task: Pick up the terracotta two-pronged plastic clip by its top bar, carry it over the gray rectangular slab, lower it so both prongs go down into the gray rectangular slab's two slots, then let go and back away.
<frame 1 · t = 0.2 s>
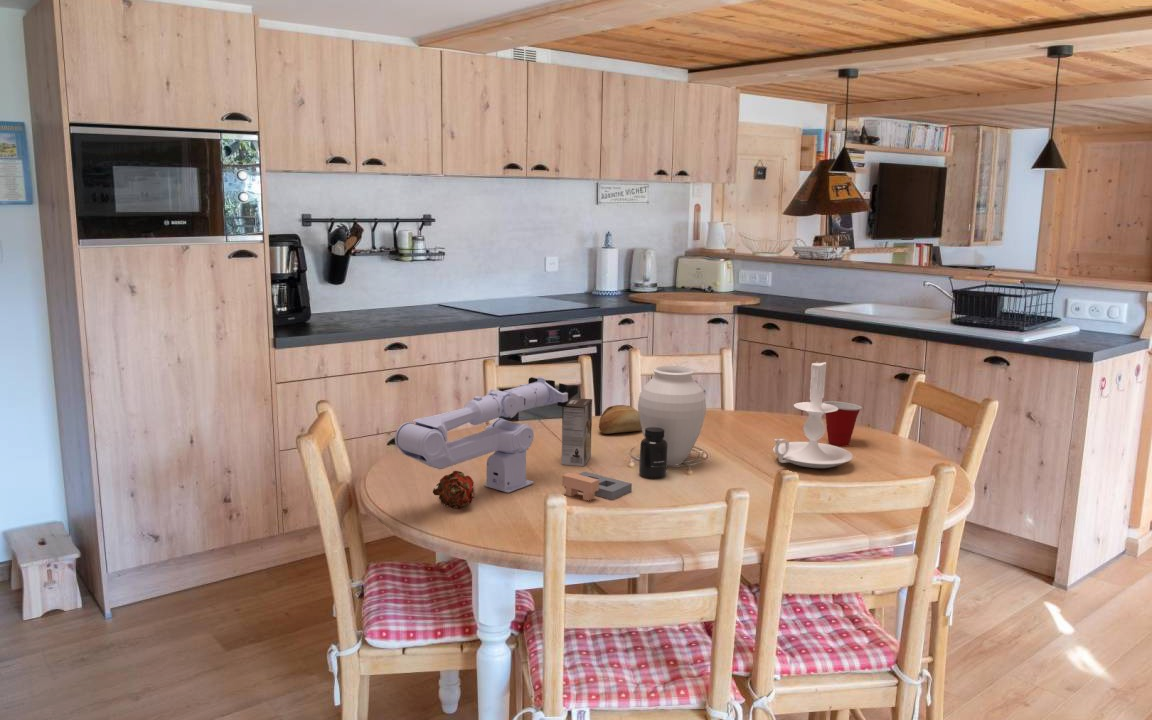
hand: (565, 386, 225), 21 cm above the table, tool horizontal, fingers open, 7 cm apart
vase: (669, 462, 236), on the table
gray rectangular slab: (597, 489, 212), on the table
supplement bottle: (652, 476, 224), on the table
clip: (580, 496, 207), on the table
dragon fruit: (454, 506, 200), on the table
candlestick: (806, 465, 236), on the table
coffee box: (576, 461, 235), on the table
bread roll: (620, 432, 265), on the table
plastic cup: (839, 444, 257), on the table
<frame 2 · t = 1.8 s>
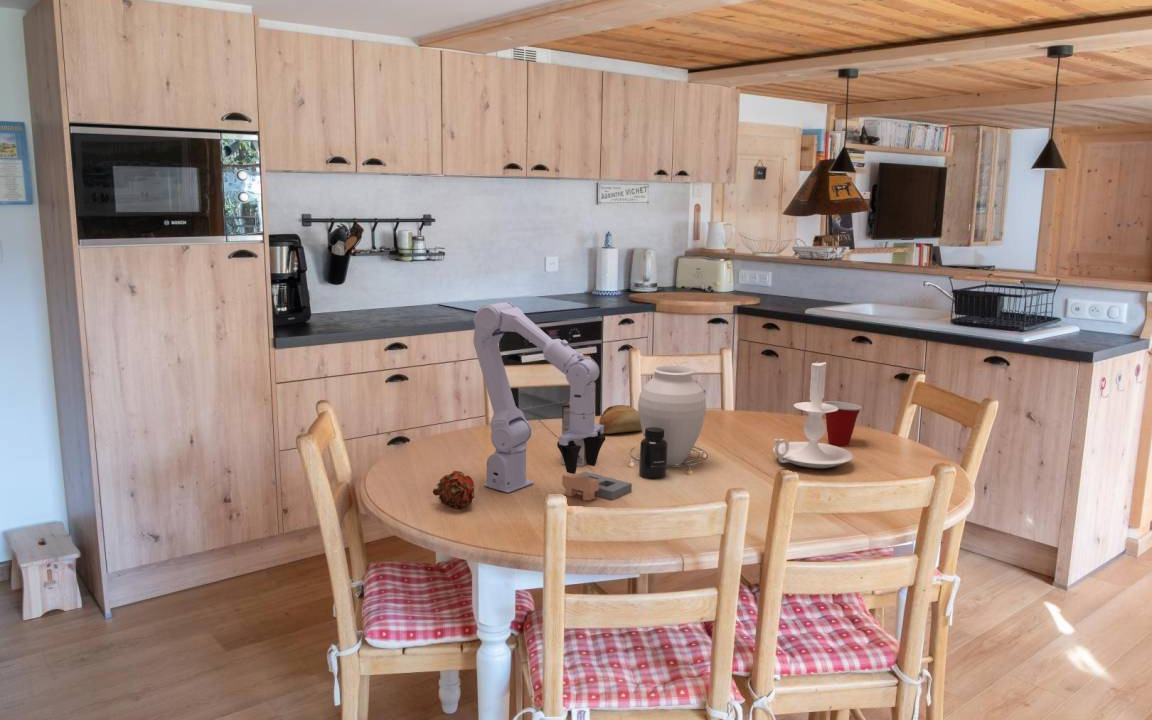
hand: (581, 468, 206), 7 cm above the table, tool pointing down, fingers open, 7 cm apart
nothing on the table moved.
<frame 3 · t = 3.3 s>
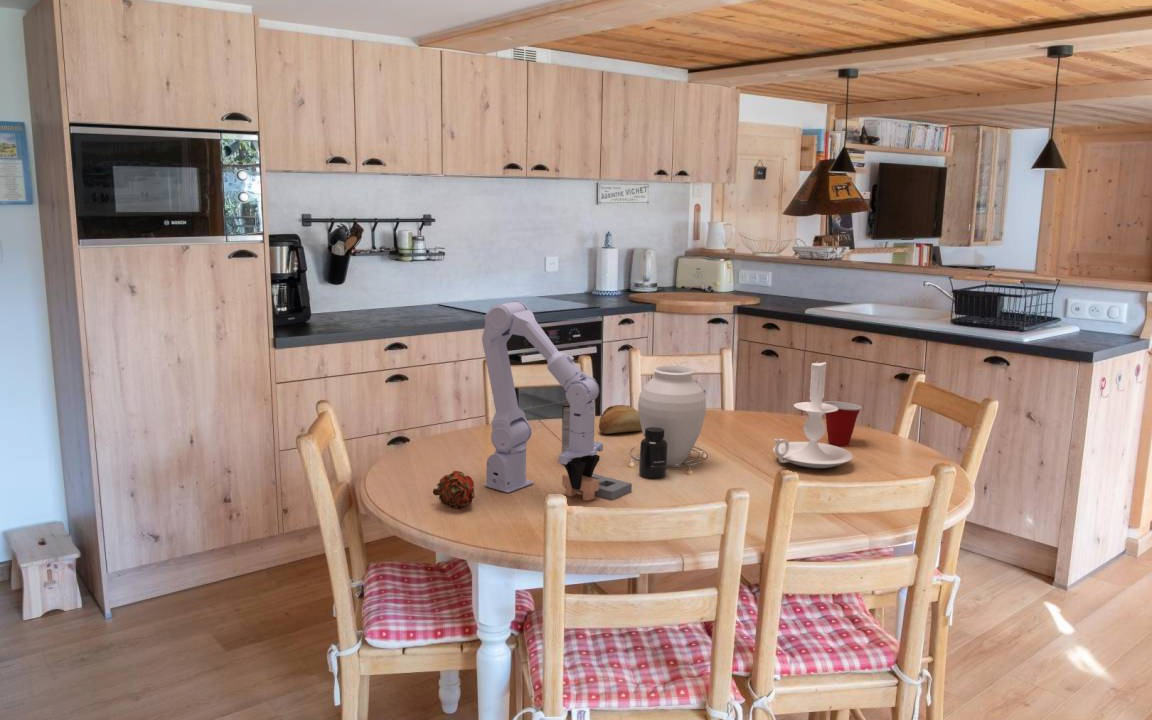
hand: (580, 486, 206), 2 cm above the table, tool pointing down, fingers closed on clip, 3 cm apart
clip: (580, 496, 207), on the table, touching gripper
everything else where it was.
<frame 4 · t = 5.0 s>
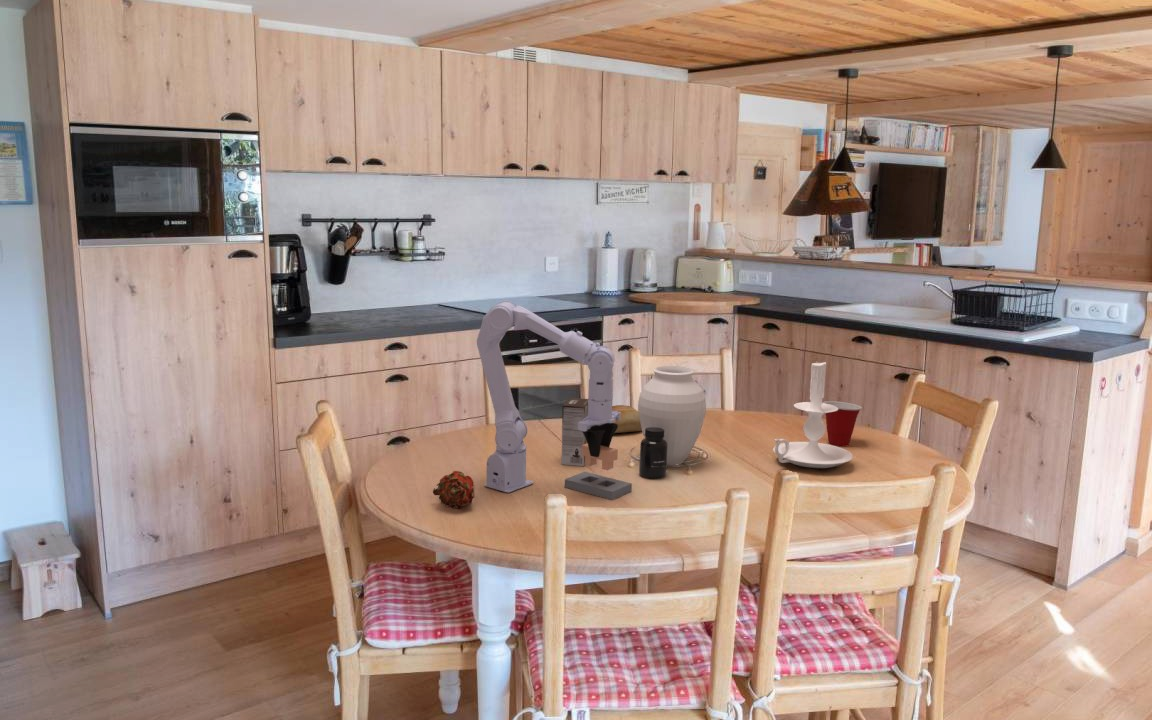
hand: (598, 454, 211), 9 cm above the table, tool pointing down, fingers closed on clip, 3 cm apart
clip: (599, 466, 211), point 6 cm above the table, touching gripper
everything else where it was.
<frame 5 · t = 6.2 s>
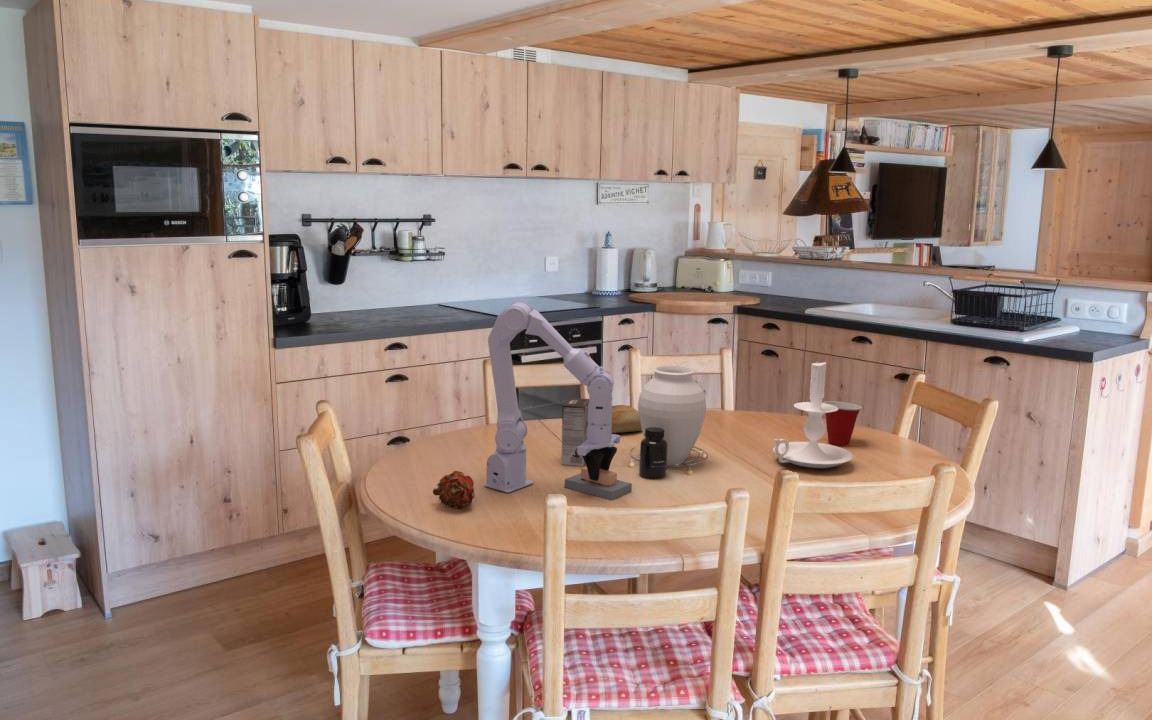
hand: (598, 477, 212), 3 cm above the table, tool pointing down, fingers closed on clip, 3 cm apart
clip: (598, 489, 212), on the table, touching gripper
everything else where it was.
when the fingers open (3 cm above the table, at t = 6.9 s): clip stays where it is, on the table.
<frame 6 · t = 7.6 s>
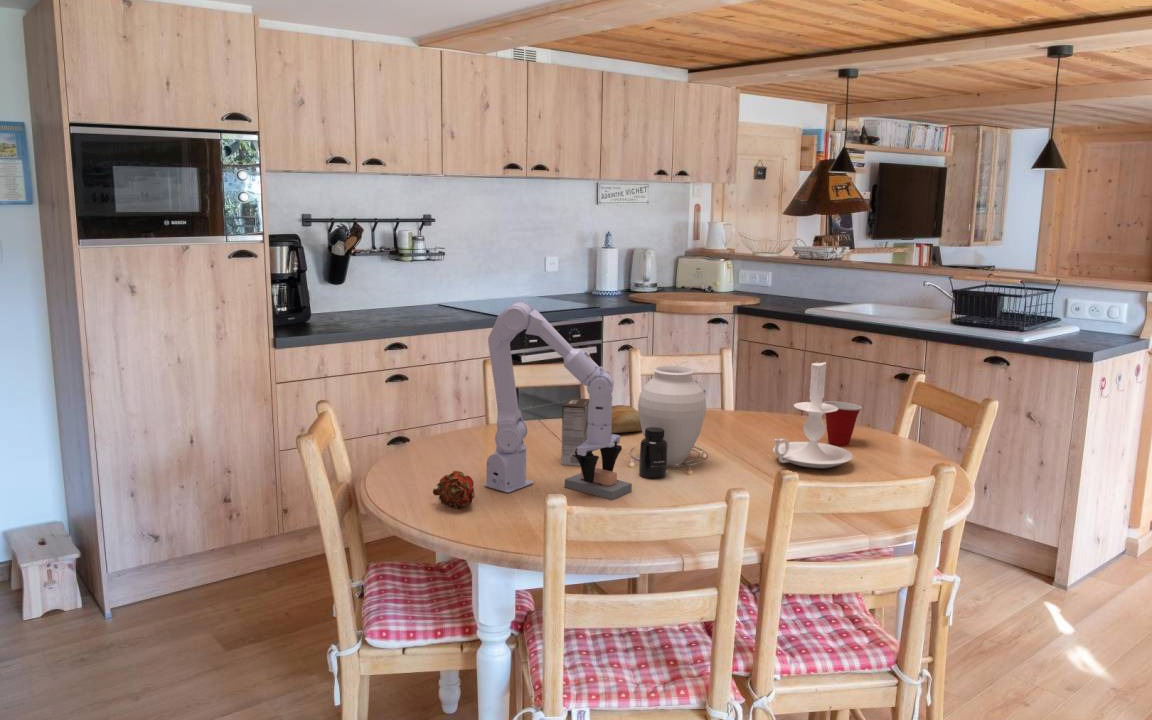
hand: (598, 478, 212), 3 cm above the table, tool pointing down, fingers open, 7 cm apart
clip: (598, 489, 212), on the table
everything else where it was.
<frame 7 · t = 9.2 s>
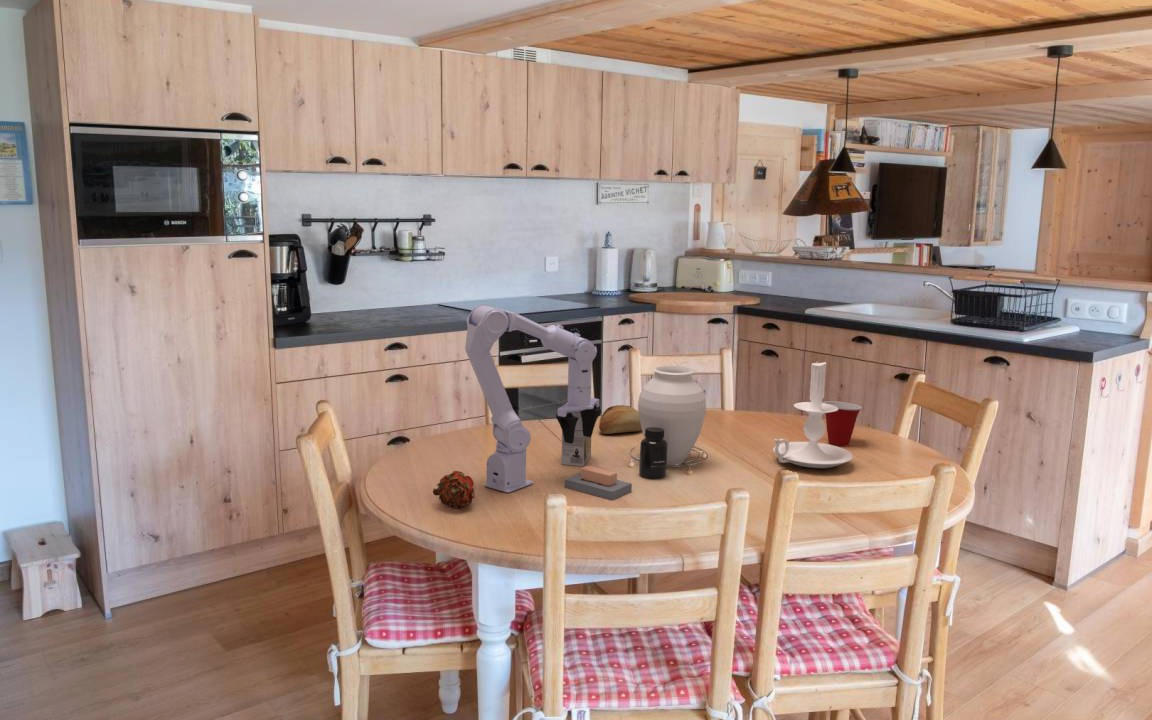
hand: (578, 439, 221), 9 cm above the table, tool pointing down, fingers open, 7 cm apart
nothing on the table moved.
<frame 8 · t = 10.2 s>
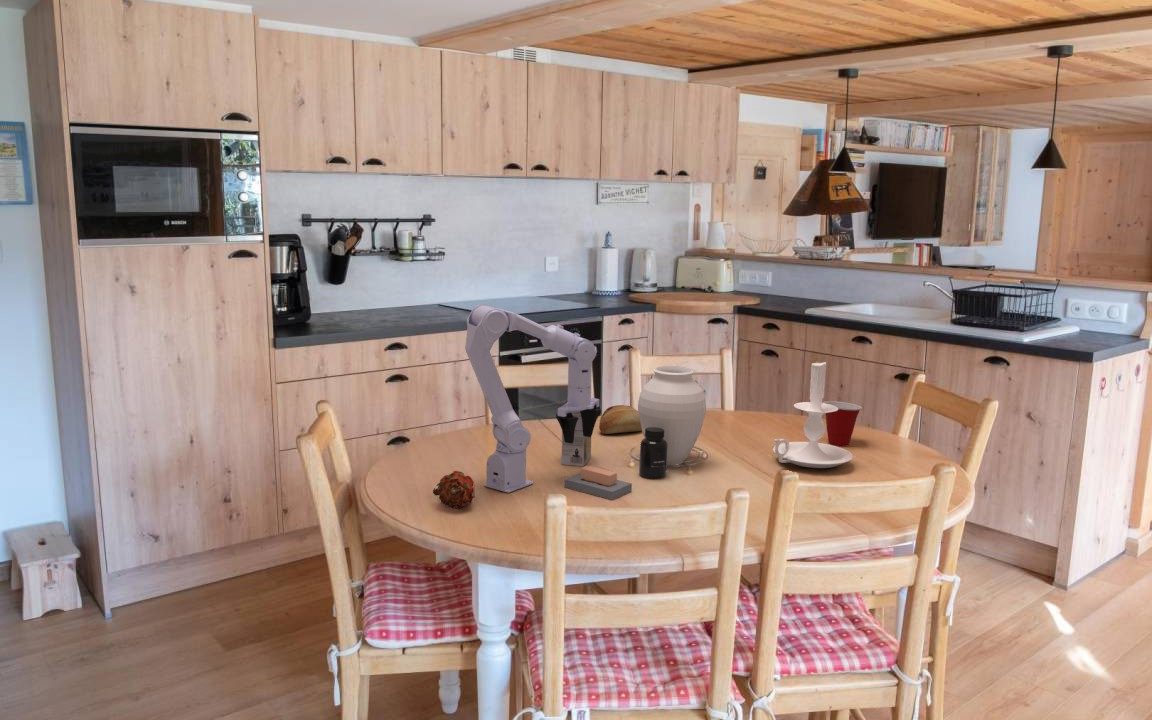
hand: (578, 439, 221), 9 cm above the table, tool pointing down, fingers open, 7 cm apart
nothing on the table moved.
at the end: clip 0.1 cm off-centre on the gray rectangular slab, point 0.0 cm above the gray rectangular slab's base; clip tilted 0°; the gripper is holding nothing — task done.
